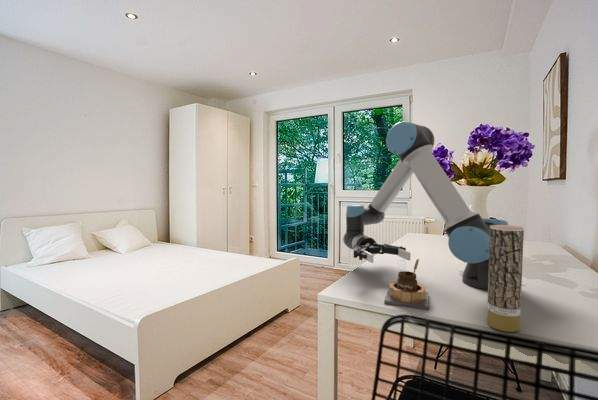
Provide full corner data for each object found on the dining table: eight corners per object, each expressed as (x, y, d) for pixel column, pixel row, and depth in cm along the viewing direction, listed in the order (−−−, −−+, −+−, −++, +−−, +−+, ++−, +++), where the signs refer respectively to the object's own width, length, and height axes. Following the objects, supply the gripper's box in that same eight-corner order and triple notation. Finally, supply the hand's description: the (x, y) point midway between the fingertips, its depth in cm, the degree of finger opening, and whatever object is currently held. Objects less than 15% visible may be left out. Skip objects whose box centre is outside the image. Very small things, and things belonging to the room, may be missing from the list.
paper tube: (525, 335, 72) (529, 229, 71) (493, 332, 73) (496, 228, 72) (511, 322, 79) (515, 225, 77) (482, 319, 80) (485, 224, 79)
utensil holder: (402, 291, 99) (403, 254, 98) (421, 296, 94) (422, 257, 93) (393, 295, 94) (393, 257, 94) (412, 301, 90) (413, 261, 89)
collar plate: (428, 295, 97) (428, 283, 97) (428, 310, 86) (428, 296, 86) (389, 290, 102) (389, 278, 102) (384, 303, 91) (384, 290, 91)
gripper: (392, 252, 127) (424, 266, 106) (334, 256, 121) (356, 271, 101) (392, 234, 126) (424, 244, 106) (334, 237, 121) (356, 248, 100)
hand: (391, 257), depth 103 cm, fingers open, 13 cm apart
